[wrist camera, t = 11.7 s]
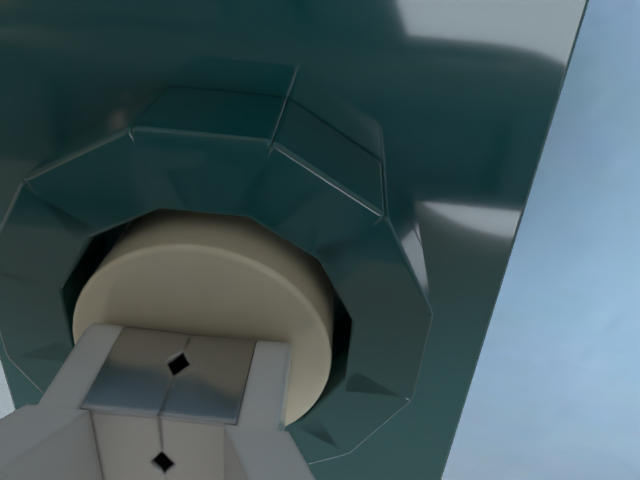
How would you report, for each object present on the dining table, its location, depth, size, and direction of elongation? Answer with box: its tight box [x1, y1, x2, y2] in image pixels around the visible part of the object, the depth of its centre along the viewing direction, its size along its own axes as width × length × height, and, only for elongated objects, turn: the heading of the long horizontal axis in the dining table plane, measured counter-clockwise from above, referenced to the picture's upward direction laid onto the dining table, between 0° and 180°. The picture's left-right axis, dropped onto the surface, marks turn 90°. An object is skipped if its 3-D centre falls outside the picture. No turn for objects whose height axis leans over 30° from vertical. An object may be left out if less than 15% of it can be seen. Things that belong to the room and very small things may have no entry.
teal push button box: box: [0, 0, 589, 480], centre depth 11 cm, size 12×10×5 cm
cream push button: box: [73, 209, 336, 427], centre depth 9 cm, size 4×4×2 cm
